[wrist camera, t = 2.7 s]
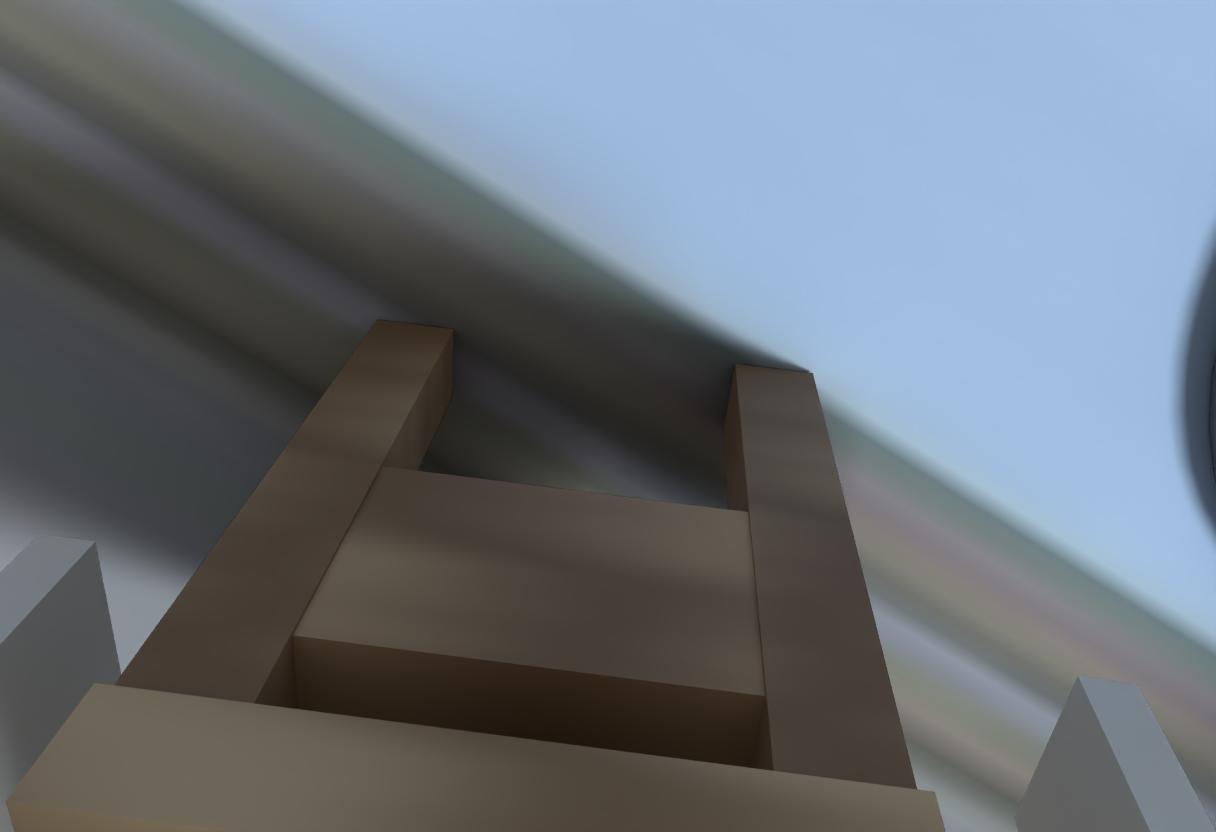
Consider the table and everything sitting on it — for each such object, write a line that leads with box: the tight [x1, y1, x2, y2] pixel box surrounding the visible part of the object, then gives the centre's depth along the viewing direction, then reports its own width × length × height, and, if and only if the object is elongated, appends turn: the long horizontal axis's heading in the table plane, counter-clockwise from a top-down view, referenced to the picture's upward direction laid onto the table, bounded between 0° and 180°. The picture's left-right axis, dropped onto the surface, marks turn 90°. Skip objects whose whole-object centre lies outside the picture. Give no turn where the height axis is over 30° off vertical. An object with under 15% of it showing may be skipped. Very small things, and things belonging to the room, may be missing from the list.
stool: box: [6, 320, 945, 832], centre depth 13 cm, size 7×7×9 cm
